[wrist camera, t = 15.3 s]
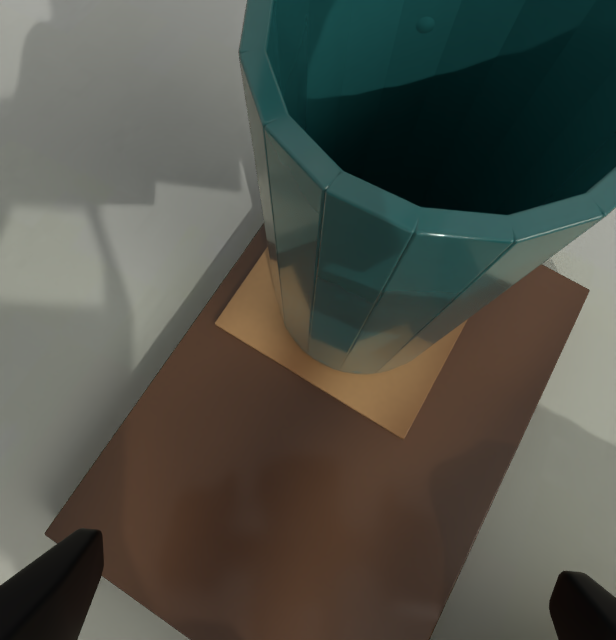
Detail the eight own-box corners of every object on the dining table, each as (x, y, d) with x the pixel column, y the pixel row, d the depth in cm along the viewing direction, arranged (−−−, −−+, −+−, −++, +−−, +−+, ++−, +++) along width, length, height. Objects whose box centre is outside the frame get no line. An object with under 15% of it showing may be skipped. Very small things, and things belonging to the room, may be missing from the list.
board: (570, 300, 21) (595, 287, 20) (363, 742, 16) (371, 776, 15) (317, 163, 23) (319, 140, 21) (63, 527, 18) (38, 535, 16)
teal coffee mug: (442, 382, 18) (721, 261, 6) (268, 366, 18) (211, 215, 6) (444, 165, 21) (640, -211, 9) (293, 151, 21) (286, -243, 9)
